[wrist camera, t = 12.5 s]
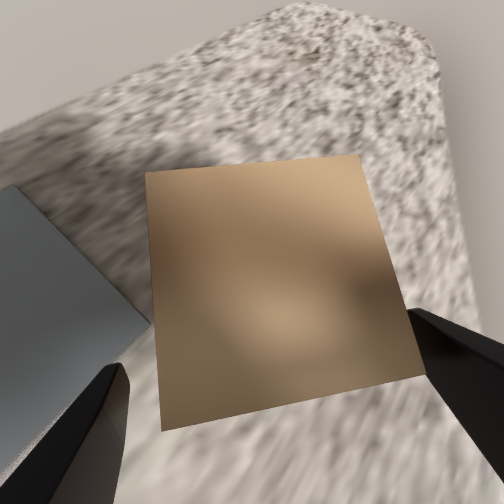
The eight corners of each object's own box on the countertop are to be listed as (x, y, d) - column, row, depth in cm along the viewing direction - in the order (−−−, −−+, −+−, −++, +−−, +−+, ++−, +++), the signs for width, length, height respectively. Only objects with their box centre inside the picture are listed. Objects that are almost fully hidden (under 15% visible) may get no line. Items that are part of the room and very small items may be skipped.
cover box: (311, 350, 17) (426, 374, 7) (199, 371, 16) (161, 431, 6) (289, 244, 19) (357, 153, 9) (187, 258, 18) (144, 172, 8)
